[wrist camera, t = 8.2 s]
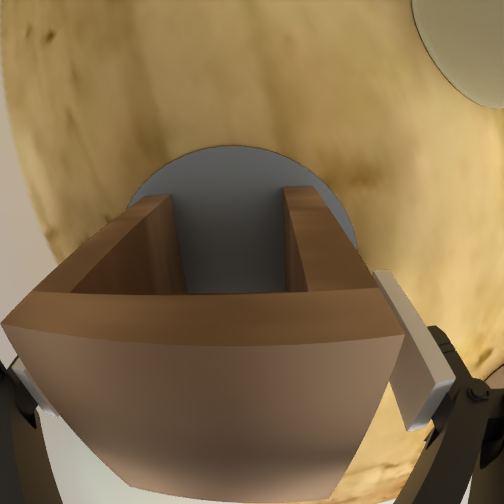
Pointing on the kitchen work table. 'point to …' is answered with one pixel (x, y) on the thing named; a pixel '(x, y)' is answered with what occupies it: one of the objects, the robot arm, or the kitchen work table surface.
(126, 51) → the kitchen work table surface
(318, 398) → the wooden stool
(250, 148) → the rubber mat
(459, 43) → the can
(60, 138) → the kitchen work table surface
